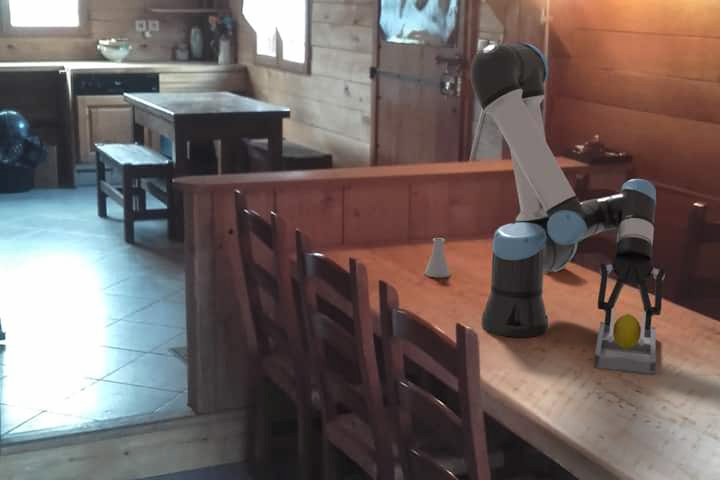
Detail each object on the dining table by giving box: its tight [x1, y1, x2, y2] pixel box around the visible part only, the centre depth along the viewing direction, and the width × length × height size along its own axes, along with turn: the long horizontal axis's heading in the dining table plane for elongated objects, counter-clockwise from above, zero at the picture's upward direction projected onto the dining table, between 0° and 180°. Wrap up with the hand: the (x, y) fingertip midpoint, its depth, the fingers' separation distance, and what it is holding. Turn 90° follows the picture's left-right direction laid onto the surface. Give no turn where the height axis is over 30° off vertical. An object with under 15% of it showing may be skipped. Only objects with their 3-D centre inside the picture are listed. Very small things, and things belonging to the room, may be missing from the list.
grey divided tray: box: [593, 321, 657, 375], centre depth 209 cm, size 23×12×2 cm, turn 164°
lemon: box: [613, 313, 641, 350], centre depth 203 cm, size 6×6×8 cm
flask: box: [424, 237, 451, 278], centre depth 265 cm, size 7×7×10 cm
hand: (626, 340), depth 200 cm, fingers closed on lemon, 5 cm apart
